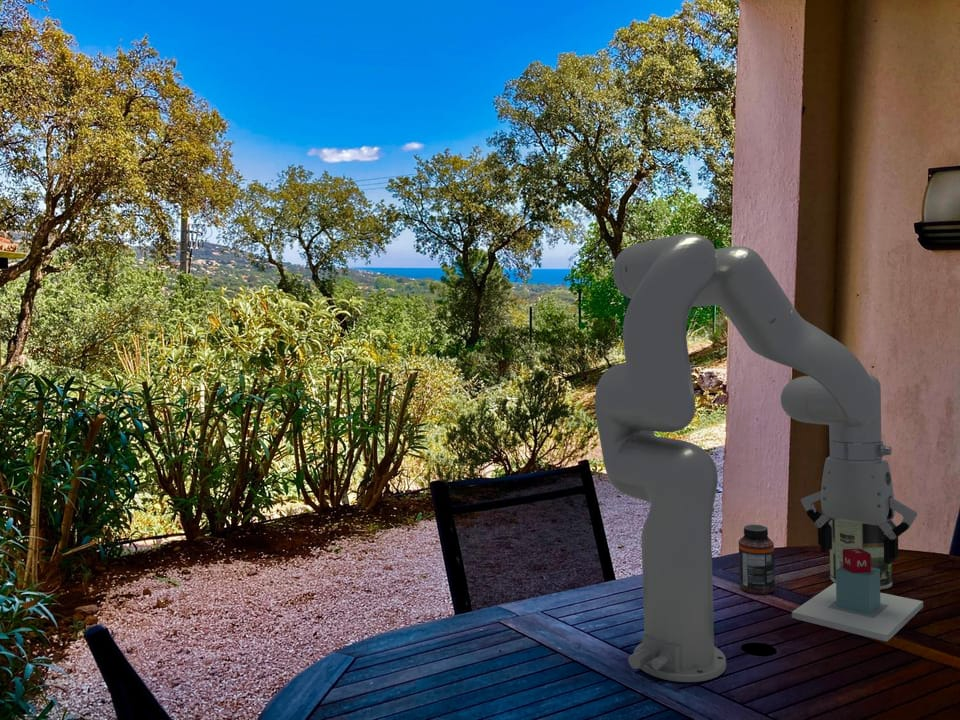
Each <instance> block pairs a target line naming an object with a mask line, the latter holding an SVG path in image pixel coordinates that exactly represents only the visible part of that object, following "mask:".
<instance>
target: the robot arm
mask: <svg viewBox="0 0 960 720" xmlns="http://www.w3.org/2000/svg"><path fill="white" fill-rule="evenodd" d="M612 278H613V282H614V284H615V286H616V288H617V290H618V291H619V292H620V293H621V294H622V295H623V296H624V297H626V298H628V299H630V301H629V303H628V305H627V309H626V311H625V314H624V319H623V324H622V338H623V339H622V340H623V348H624V349H623V350H624V358H625V359H624V360H625V362H623V363H618V364H615V365H613V366H611V367H609V368H608V369H607V370H606V371H604V373H603V374H602V375H601V377H600V378H599V380H598V383H597V385H596V387H595V388H596V390H595V395H594V408H595V409H594V410H595V417H596V424H597V428H598V429H597V430H598V435H599V441H600V442H599V443H600V448H601V454H602V459H603V460H602V461H603V465H604V468H605V472H606V475H607V478H608V479H609V482H610V483H611V486H613V487H614V488H615V489H616V490H617V491H619V492H620V493H622V494H623V495H626V496H627V497H628V496H629V497H632V498H635V499H638V500H642V501H644V502H648V503H650V508H649V512H648V513H647V516H646V519H645V522H644V524H643V528H642V532H641V556H642V557H641V560H642V561H641V562H642V564H641V565H642V566H641V567H642V596H643V597H642V598H643V629H644V630H643V631H644V633H643V635H642V637H641V638H642V639H641V642H640V643H639V644H638V645H637V646H636V647H635V648H634V650H633V653H632V654H630V655H629V656H628V658H627V659H628V661H627V662H628V665H629V666H630V667H631V668H632V669H634V670H638V669H640V670H641V671H643V672H644V673H645V674H648V675H650V676H652V677H655V678H657V679H660V680H661V679H662V680H667V681H672V682H676V683H677V682H678V683H699V682H706V681H709V680H713V679H716V678H718V677H720V676H721V675H722V674H723V673H724V672H725V671H726V668H727V658H726V656H725V653H724V652H723V651H722V650H720V649H719V648H718V647H716V646H715V634H714V633H715V631H714V629H715V628H714V625H715V624H714V623H715V622H714V595H713V594H714V589H713V583H714V582H713V554H712V521H713V512H714V505H715V499H716V495H717V488H718V478H719V475H718V469H717V465H716V463H715V461H714V459H713V457H712V456H711V455H710V454H709V453H708V452H707V451H706V450H705V449H704V448H702V447H701V446H699V445H697V444H694V443H692V442H689V441H685V440H682V439H675V438H671V437H670V438H669V437H664V436H656V435H655V432H659V433H674V432H679V431H682V430H684V429H685V428H686V427H688V426H689V425H690V424H691V423H692V421H693V419H694V417H695V413H696V396H695V389H694V384H693V382H694V381H693V375H692V368H691V362H690V356H689V348H688V338H687V322H688V319H689V316H690V312H691V310H692V308H693V307H698V308H699V307H709V306H710V307H711V306H718V307H719V308H721V309H722V311H723V312H724V313H725V315H726V316H727V317H728V319H729V320H730V321H731V323H732V324H733V326H734V328H735V329H736V330H737V331H738V333H739V335H740V336H741V337H742V339H743V340H744V342H745V344H746V345H747V346H748V347H749V349H750V350H751V351H753V352H754V353H755V354H756V355H759V356H761V357H763V358H765V359H767V360H768V361H772V362H775V363H777V364H780V365H783V366H786V367H789V368H791V369H794V370H796V371H799V372H801V373H803V374H804V375H803V376H798V377H795V378H793V379H792V380H790V381H789V382H788V383H786V384H785V386H784V387H783V389H782V391H781V393H780V404H781V408H782V409H783V412H785V414H786V415H787V417H788V416H789V417H790V418H791V419H793V420H795V421H797V422H801V423H805V424H815V425H828V431H829V432H828V433H829V437H828V438H829V439H828V440H829V456H828V457H826V458H825V461H824V467H823V473H822V479H821V488H820V489H821V490H819V491H817V492H815V493H812V494H809V495H807V496H805V497H804V496H803V497H802V498H801V499H800V502H801V505H802V506H803V508H804V510H805V511H806V516H808V517H809V518H810V519H811V521H812V522H813V523H814V526H815V527H816V528H817V544H818V546H820V552H821V553H826V552H830V549H832V527H831V525H829V522H830V521H831V520H832V519H836V520H843V521H849V522H856V523H863V524H870V525H878V526H879V527H880V528H881V529H882V531H883V532H884V533H885V534H886V538H885V539H884V563H886V564H891V563H893V562H895V560H896V559H898V557H899V536H901V535H903V534H904V533H905V532H906V531H908V530H909V529H910V528H911V526H912V525H913V523H914V522H915V520H916V518H917V517H918V512H917V511H915V510H914V509H912V508H910V507H908V506H907V505H906V504H903V503H902V502H900V501H898V500H896V498H895V493H894V485H893V480H892V473H891V470H890V469H891V468H890V465H889V461H888V460H886V459H883V458H884V457H886V456H891V455H892V451H893V450H892V447H891V446H887V445H884V441H883V440H882V398H881V397H882V395H881V393H882V389H881V388H882V387H881V383H880V380H879V378H877V377H875V376H873V375H870V374H869V372H868V371H867V370H866V368H865V367H864V365H863V364H862V362H861V361H860V359H859V358H858V357H857V356H856V355H855V354H854V353H853V352H852V351H851V350H850V349H849V348H848V347H846V345H845V344H843V343H841V342H840V341H838V340H837V339H836V338H834V337H833V336H831V335H829V334H828V333H827V332H825V331H823V330H822V329H820V328H819V327H817V326H815V325H813V324H812V323H810V322H809V321H807V320H805V319H804V318H803V317H802V316H801V315H800V313H799V312H798V311H797V310H796V308H795V306H794V304H793V303H792V301H791V300H790V299H789V297H788V296H787V294H786V293H785V291H784V290H783V288H782V287H781V285H780V284H779V282H778V280H777V279H776V278H775V276H774V274H773V273H772V272H771V270H770V269H769V267H768V265H767V264H766V262H765V261H764V259H763V258H762V257H761V255H760V254H758V252H756V251H755V250H754V249H752V248H750V247H747V246H741V245H740V246H737V245H736V246H728V247H727V246H726V247H722V248H715V246H714V244H713V243H712V241H711V240H710V239H708V238H707V237H706V236H703V235H701V234H696V233H695V234H694V233H682V234H676V235H675V234H674V235H672V236H666V237H661V238H656V239H652V240H648V241H643V242H639V243H635V244H631V245H629V246H627V247H626V248H624V249H623V250H621V252H619V254H618V255H617V256H616V259H615V260H614V262H613V266H612ZM817 501H820V510H821V512H819V511H818V509H817V508H816V507H815V504H814V503H815V502H817ZM821 513H822V514H821ZM896 513H898V514H900V515H901V516H902V520H901V522H900V523H899V524H898V525H897V524H896V523H895V522H894V521H893V519H894V518H895V514H896Z"/></svg>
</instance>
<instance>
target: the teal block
mask: <svg viewBox="0 0 960 720" xmlns="http://www.w3.org/2000/svg"><path fill="white" fill-rule="evenodd" d="M880 593H881V590H880V569H877V568H872V567H871V572H864V573H852V572H850V571H849V570H847V569H845V568H843V566H842V567H840V568H838V569H837V570H836V605H837V607H840V608H845V609H849V610H853V611H858V612H862V613H866V614H870V613H872V612H873V611H874V610H875V609H877V608H878V607H879V606H880Z"/></svg>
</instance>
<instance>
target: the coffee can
mask: <svg viewBox="0 0 960 720" xmlns="http://www.w3.org/2000/svg"><path fill="white" fill-rule="evenodd" d="M829 525H831V527H832V549H830V550H829V566H830V568H829V569H830V570H829V571H830V572H829V573H830V575H829V579H830V580H831V581H832V582H833V583H836V570H837V569H838V568H840V567H842V566H843V549H862V550H864V551H866V552H868V553H870V554H871V567H872V568H877V569H880V591H883V590H888V589H889V588H892V586H893V575H892V567H893V566H892V563H893V562H892V563H891V564H886V563H884V539H885V538H886V534H885V533H884V532H883V531H882V529H881V528H880V527H879V526H878V525H870V524H863V523H856V522H849V521H843V520H836V519H832V520H831V521H830V522H829Z"/></svg>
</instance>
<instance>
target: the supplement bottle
mask: <svg viewBox="0 0 960 720" xmlns="http://www.w3.org/2000/svg"><path fill="white" fill-rule="evenodd" d="M768 531H769V530H768V527H767V526H765V525H763V524H762V525H761V524H746V525H744V526H743V536H742V537H741V538H740V539H739V540H738V564H739V565H738V566H739V568H738V569H739V570H738V571H739V586H740V588H741V590H743V591H744V592H747V593H750V594H755V595H766V594H770V593H773V592H774V591H775V589H776V574H775V571H776V570H775V545H774V542H773V540H772V539H771V538H769V532H768Z"/></svg>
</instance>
